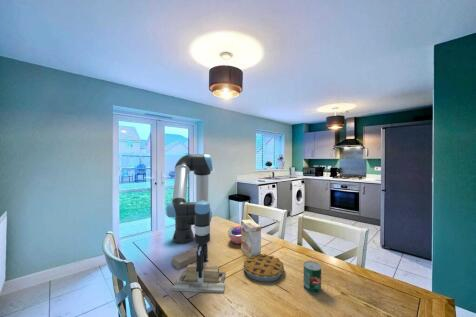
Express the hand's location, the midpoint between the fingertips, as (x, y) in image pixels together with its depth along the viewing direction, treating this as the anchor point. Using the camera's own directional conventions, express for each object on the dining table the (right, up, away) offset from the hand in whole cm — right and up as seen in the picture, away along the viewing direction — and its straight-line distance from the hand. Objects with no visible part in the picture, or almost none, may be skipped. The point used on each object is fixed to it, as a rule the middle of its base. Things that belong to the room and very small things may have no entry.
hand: (202, 279), depth 101 cm
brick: (-12, -1, +18) cm, 22 cm away
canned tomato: (+53, -1, -6) cm, 53 cm away
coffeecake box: (+26, 0, +28) cm, 38 cm away
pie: (+32, -1, +8) cm, 33 cm away
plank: (0, -1, 0) cm, 1 cm away
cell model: (+19, 0, +45) cm, 49 cm away
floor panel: (0, -1, -1) cm, 1 cm away
